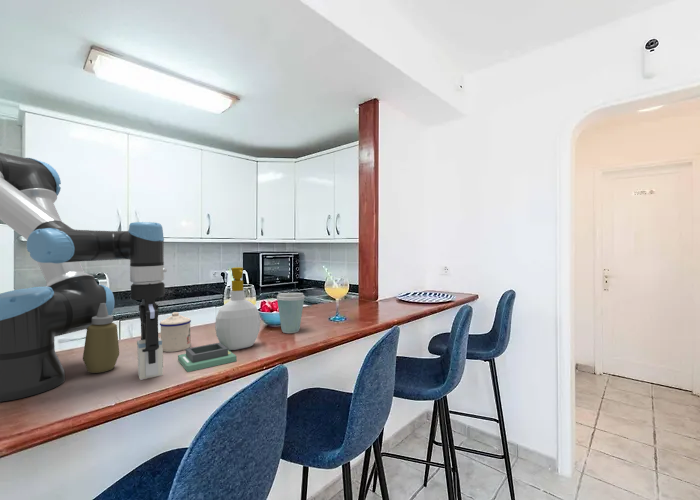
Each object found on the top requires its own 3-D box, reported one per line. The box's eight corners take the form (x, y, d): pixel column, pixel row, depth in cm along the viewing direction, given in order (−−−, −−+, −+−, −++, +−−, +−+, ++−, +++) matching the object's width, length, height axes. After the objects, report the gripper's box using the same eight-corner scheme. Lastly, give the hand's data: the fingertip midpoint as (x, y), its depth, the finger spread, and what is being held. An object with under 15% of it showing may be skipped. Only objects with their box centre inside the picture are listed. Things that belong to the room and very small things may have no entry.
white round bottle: (219, 355, 103) (218, 269, 102) (212, 348, 110) (210, 267, 110) (265, 347, 111) (264, 266, 111) (256, 341, 118) (254, 265, 118)
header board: (187, 372, 90) (187, 358, 90) (178, 360, 100) (177, 348, 100) (236, 361, 98) (236, 348, 98) (223, 351, 108) (223, 340, 107)
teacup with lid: (194, 348, 111) (193, 312, 111) (163, 354, 105) (162, 316, 105) (185, 340, 120) (185, 307, 120) (156, 345, 115) (155, 311, 115)
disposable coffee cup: (277, 328, 135) (276, 291, 135) (305, 327, 137) (304, 289, 137) (276, 335, 125) (275, 294, 124) (306, 334, 127) (305, 293, 126)
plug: (139, 380, 85) (138, 344, 85) (137, 375, 88) (137, 340, 88) (164, 374, 89) (163, 340, 88) (161, 370, 92) (160, 336, 92)
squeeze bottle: (81, 367, 93) (83, 301, 93) (117, 361, 98) (119, 299, 98) (82, 377, 87) (84, 307, 86) (120, 371, 92) (122, 304, 92)
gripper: (170, 284, 83) (173, 379, 84) (158, 279, 97) (161, 360, 98) (134, 286, 79) (137, 387, 79) (127, 281, 93) (129, 366, 93)
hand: (150, 372), depth 88 cm, fingers open, 4 cm apart
